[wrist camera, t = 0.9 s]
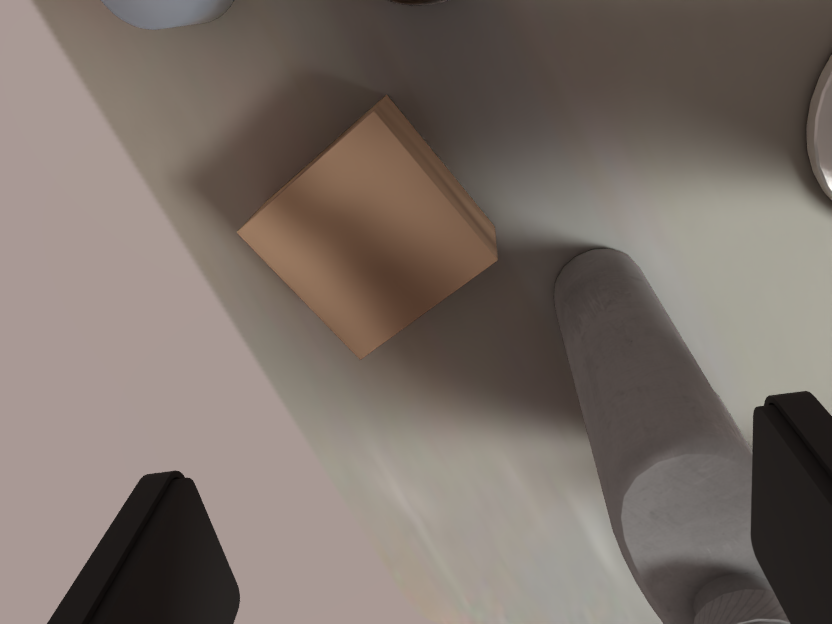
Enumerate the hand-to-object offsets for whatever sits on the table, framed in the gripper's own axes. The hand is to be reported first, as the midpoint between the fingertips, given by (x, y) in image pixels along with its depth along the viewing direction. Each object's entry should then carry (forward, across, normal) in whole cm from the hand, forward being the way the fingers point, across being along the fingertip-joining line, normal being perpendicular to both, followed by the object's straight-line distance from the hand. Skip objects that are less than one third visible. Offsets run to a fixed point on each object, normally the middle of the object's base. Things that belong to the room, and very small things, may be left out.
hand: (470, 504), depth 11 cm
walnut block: (+27, +5, +2) cm, 27 cm away
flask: (+26, -8, +14) cm, 31 cm away
